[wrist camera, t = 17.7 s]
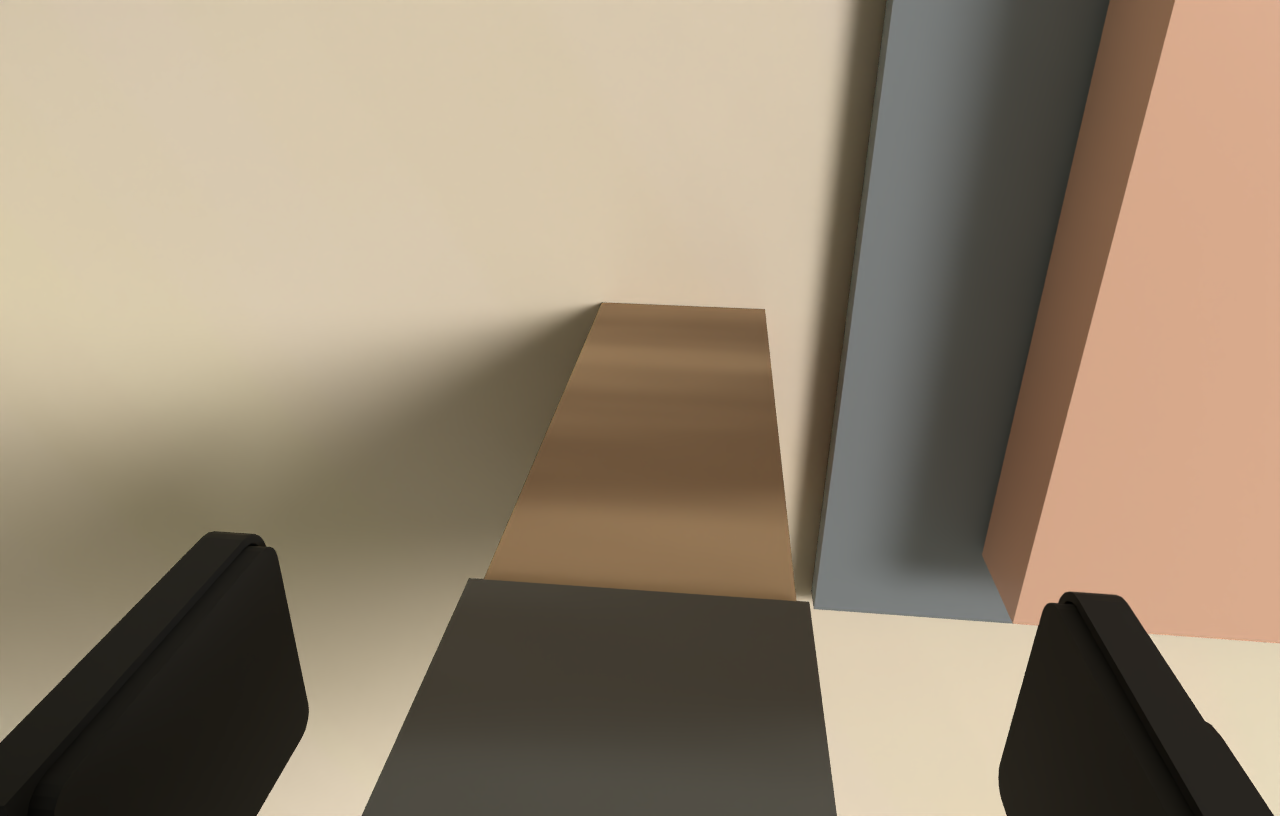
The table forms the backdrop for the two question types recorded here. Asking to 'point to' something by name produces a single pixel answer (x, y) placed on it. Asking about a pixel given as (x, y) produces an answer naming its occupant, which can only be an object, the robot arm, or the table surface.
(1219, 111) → the tile
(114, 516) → the table surface
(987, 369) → the mat
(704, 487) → the banded brown box
